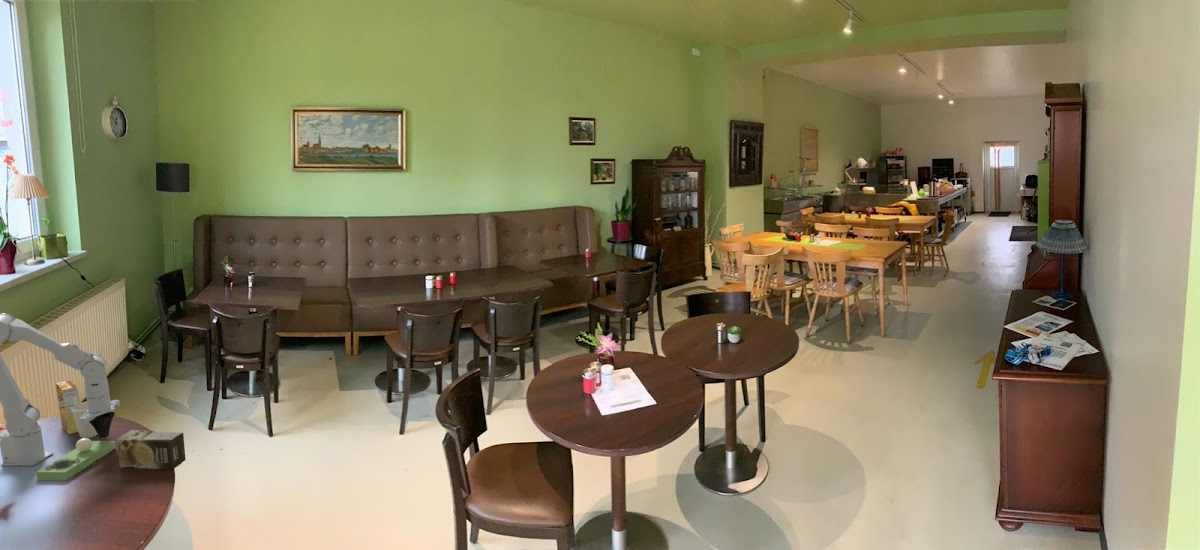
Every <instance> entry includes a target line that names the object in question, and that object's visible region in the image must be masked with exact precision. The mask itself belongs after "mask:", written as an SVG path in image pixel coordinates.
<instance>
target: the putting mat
mask: <svg viewBox="0 0 1200 550" xmlns="http://www.w3.org/2000/svg"><path fill="white" fill-rule="evenodd" d="M91 441H92V447H91V449H90V450H88V451H86V452H80V451H78V450H77V449H76V448H74V449H73V450H71V451H69V452H68V453H66V454H65V455H63V456H61V457H59V458H58V459H56V460H54V461H52V462H51V463H49V464H47V465H46V466H44V467H42V468H41V469H39V470H37V471H36V473H35V474H36V479H37V481H62V480H66V481H68V480H69V479H71V478H73V477H74V476H76V475H77V474H79V473H80V472H82V471H84V470H85V469H86V467H87V466H88V467H90V466H91V465H93V464H94V463H95V462H94V461H96V460H97V459H99V458H101V457H102V456H104V455H105V454H107V453H108V454H110V453H111V452H110V451H112V450H113V449H115V448H116V445H117V444H116V441H115V440H91ZM116 449H117V448H116ZM116 449H115V450H116ZM113 451H114V450H113ZM113 451H112V452H113ZM109 452H110V453H109ZM108 454H107V455H108ZM105 456H106V455H105ZM105 456H104V457H105ZM102 458H103V457H102ZM102 458H101V459H102ZM99 460H100V459H99ZM93 462H94V463H93ZM96 462H97V461H96ZM92 463H93V464H92ZM90 464H91V465H90ZM89 465H90V466H89ZM88 467H87V468H88ZM84 468H85V469H84ZM81 470H82V471H81ZM78 472H79V473H78ZM76 473H77V474H76ZM75 474H76V475H75ZM73 475H74V476H73ZM70 477H71V478H70ZM67 479H68V480H67Z"/></svg>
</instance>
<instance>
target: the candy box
mask: <svg viewBox="0 0 1200 550" xmlns="http://www.w3.org/2000/svg"><path fill="white" fill-rule="evenodd" d="M55 389H56V396H57V403H58V410H59V417H60V425H61V428H62V429H63V430H64V431H65V432H66V433H67V434H68V435H73V434H74V433H79V431H78V428H77V425H76V422H75V419H74V416H73V412H72V410H71V407H72V406H74V405H76V404H79V403H80V397H79V391H78V386H77V385H75V384H74V383H73V382H72V381H71V380H66V381H60V382H57V383H55Z"/></svg>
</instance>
